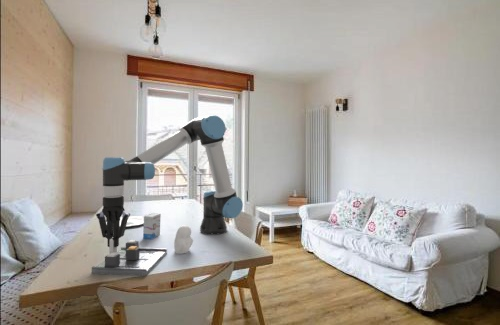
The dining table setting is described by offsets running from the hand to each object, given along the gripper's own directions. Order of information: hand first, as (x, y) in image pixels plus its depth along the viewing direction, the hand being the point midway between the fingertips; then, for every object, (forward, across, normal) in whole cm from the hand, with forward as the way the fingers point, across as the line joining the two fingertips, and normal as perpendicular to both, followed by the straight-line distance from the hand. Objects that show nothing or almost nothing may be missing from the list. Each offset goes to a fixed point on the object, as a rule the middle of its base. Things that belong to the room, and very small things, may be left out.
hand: (113, 254), depth 106 cm
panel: (+3, -8, 0) cm, 9 cm away
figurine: (+3, -24, -14) cm, 28 cm away
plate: (+4, +23, -57) cm, 62 cm away
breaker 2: (+2, -4, -8) cm, 9 cm away
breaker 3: (+2, -8, 0) cm, 8 cm away
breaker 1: (+2, -4, +8) cm, 9 cm away
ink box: (+3, -2, -33) cm, 33 cm away
